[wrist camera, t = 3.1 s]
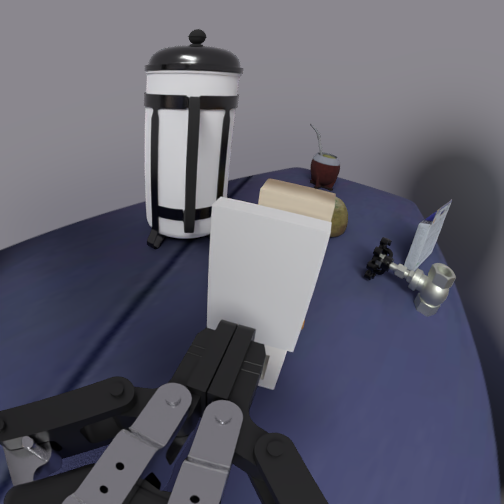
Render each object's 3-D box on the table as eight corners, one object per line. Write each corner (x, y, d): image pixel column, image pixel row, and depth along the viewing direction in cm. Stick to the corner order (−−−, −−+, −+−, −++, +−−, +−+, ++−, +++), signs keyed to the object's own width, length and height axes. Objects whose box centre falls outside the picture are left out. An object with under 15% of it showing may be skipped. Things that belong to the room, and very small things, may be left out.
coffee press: (115, 231, 44) (112, 32, 27) (188, 201, 55) (199, 38, 39) (189, 283, 36) (205, 10, 19) (264, 237, 47) (294, 38, 31)
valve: (440, 303, 38) (375, 267, 44) (459, 268, 34) (390, 230, 40) (430, 327, 33) (358, 285, 40) (454, 288, 30) (374, 244, 36)
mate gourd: (339, 188, 72) (352, 131, 64) (325, 194, 67) (339, 131, 58) (314, 178, 76) (324, 123, 67) (298, 184, 70) (309, 123, 62)
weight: (282, 199, 61) (286, 177, 59) (346, 216, 59) (352, 194, 56) (264, 227, 50) (268, 200, 48) (342, 249, 48) (351, 222, 45)
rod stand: (276, 434, 21) (319, 347, 15) (184, 405, 22) (173, 305, 16) (313, 276, 40) (335, 193, 33) (256, 261, 41) (268, 178, 35)
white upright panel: (278, 391, 22) (330, 232, 14) (206, 369, 23) (212, 204, 15) (288, 354, 25) (333, 202, 17) (222, 335, 26) (237, 181, 18)
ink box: (422, 247, 52) (442, 194, 45) (431, 253, 50) (453, 199, 44) (400, 266, 45) (425, 203, 39) (412, 273, 44) (438, 210, 37)
